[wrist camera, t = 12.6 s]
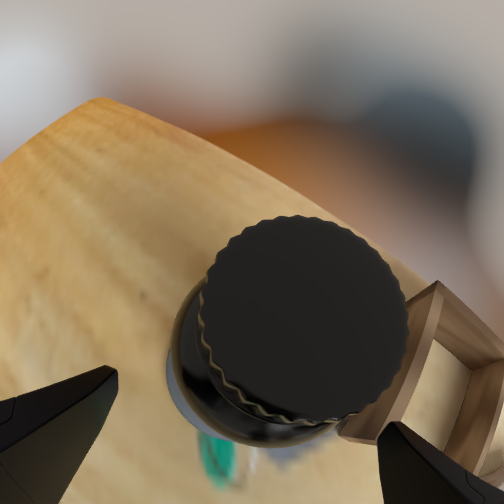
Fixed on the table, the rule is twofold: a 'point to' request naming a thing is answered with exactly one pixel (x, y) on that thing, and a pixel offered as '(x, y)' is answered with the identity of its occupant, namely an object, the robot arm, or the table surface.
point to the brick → (495, 478)
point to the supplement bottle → (289, 333)
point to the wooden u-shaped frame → (404, 382)
